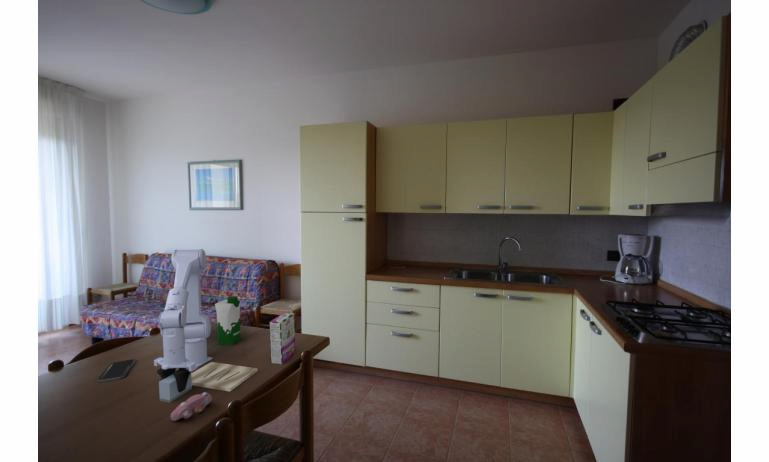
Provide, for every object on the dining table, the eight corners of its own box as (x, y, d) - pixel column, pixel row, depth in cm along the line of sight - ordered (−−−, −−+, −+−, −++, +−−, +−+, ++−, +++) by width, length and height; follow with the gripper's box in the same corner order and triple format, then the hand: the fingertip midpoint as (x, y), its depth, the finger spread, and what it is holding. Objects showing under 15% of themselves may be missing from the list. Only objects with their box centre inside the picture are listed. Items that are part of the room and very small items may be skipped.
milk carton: (233, 346, 142) (231, 300, 141) (213, 345, 144) (211, 299, 142) (244, 338, 151) (243, 295, 150) (225, 337, 152) (224, 294, 151)
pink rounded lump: (175, 430, 91) (181, 411, 89) (167, 418, 93) (172, 399, 91) (211, 411, 99) (216, 394, 97) (203, 400, 101) (208, 383, 99)
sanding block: (159, 400, 102) (158, 381, 102) (182, 387, 110) (181, 369, 109) (170, 402, 101) (169, 383, 100) (191, 389, 109) (191, 371, 108)
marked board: (179, 383, 112) (179, 380, 112) (211, 364, 126) (211, 361, 126) (229, 391, 107) (229, 388, 107) (257, 371, 120) (257, 368, 120)
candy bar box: (284, 351, 137) (283, 312, 136) (295, 352, 136) (295, 313, 135) (270, 363, 126) (268, 321, 125) (282, 365, 125) (281, 322, 124)
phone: (96, 381, 112) (111, 362, 126) (96, 384, 113) (111, 365, 126) (125, 376, 116) (136, 358, 129) (125, 379, 116) (136, 361, 129)
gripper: (144, 350, 102) (146, 393, 103) (182, 355, 98) (183, 400, 99) (164, 341, 109) (166, 381, 110) (201, 346, 105) (202, 387, 106)
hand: (176, 389), depth 105 cm, fingers closed on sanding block, 4 cm apart
